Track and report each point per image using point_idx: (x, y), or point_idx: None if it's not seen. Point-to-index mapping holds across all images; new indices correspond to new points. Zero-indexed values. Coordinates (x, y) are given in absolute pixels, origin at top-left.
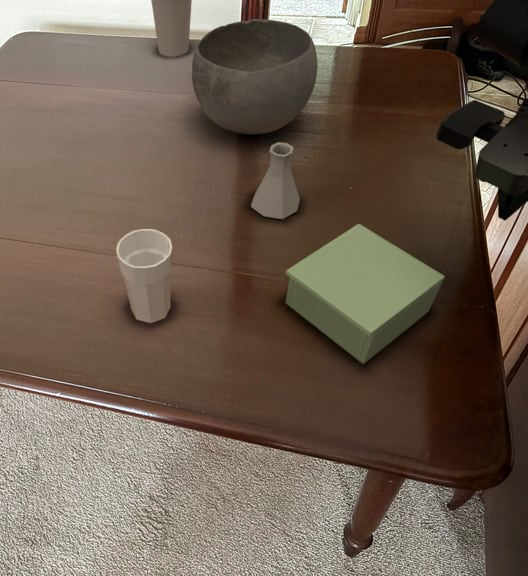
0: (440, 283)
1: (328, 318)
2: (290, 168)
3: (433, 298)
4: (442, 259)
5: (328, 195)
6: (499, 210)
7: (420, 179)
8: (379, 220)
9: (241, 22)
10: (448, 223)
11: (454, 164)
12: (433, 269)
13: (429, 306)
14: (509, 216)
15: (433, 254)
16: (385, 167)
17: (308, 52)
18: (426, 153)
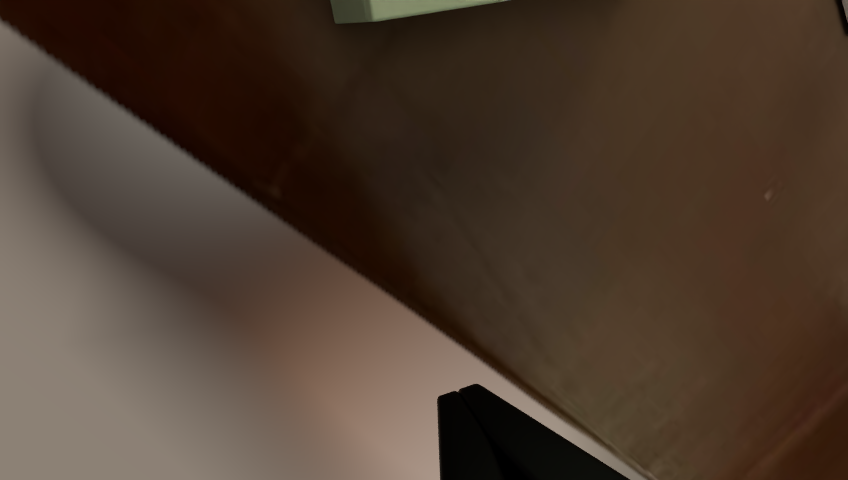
0: (361, 2)
1: None
2: None
3: (344, 6)
4: (469, 224)
5: (796, 125)
6: (507, 410)
7: (669, 355)
8: (659, 178)
9: None
10: (544, 322)
11: (646, 440)
12: (432, 9)
13: (336, 4)
14: (439, 430)
15: (496, 216)
16: (742, 313)
17: None
18: (702, 411)
